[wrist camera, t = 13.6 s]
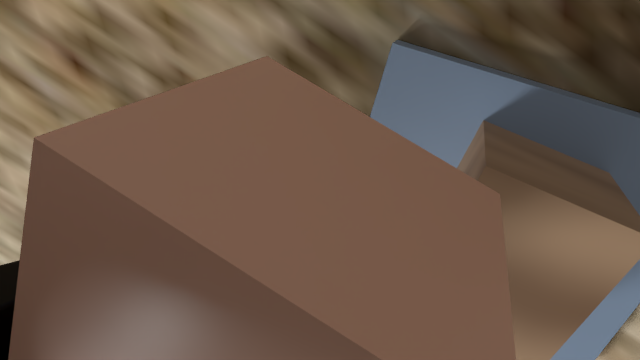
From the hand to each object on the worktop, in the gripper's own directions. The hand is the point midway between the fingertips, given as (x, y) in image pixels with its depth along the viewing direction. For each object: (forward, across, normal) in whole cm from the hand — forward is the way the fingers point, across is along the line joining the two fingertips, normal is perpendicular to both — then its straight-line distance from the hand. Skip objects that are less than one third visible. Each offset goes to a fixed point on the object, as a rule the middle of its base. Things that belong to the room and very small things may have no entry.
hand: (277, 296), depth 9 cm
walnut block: (+11, -6, +2) cm, 13 cm away
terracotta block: (+1, 0, 0) cm, 1 cm away
